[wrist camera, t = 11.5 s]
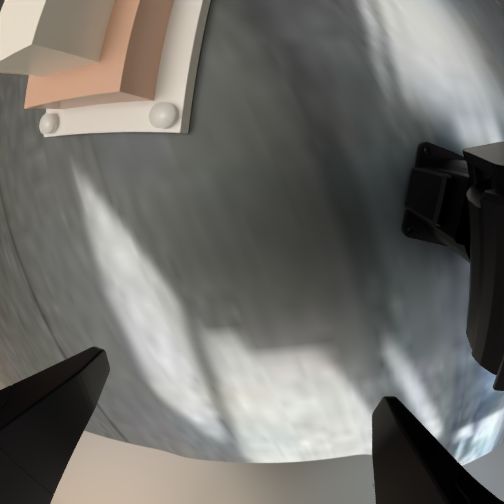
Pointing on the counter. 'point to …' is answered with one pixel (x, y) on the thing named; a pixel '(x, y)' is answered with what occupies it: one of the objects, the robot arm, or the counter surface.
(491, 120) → the counter surface
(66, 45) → the cream brick
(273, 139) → the counter surface
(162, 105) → the base plate
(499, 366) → the robot arm
